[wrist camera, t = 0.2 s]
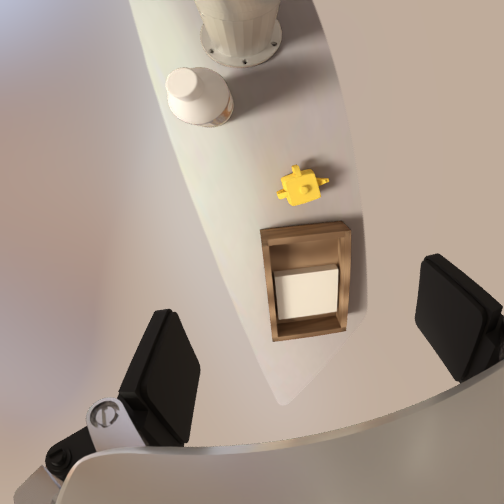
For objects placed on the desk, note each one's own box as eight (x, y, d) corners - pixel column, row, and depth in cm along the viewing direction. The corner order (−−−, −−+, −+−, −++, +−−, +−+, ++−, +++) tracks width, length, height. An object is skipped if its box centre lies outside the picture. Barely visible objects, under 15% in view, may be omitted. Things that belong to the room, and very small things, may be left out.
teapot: (316, 156, 41) (324, 158, 36) (326, 189, 43) (335, 196, 39) (268, 171, 42) (271, 175, 37) (280, 204, 44) (283, 213, 40)
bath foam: (235, 125, 39) (225, 113, 21) (191, 130, 39) (146, 126, 21) (232, 83, 36) (219, 41, 18) (187, 89, 37) (142, 56, 18)
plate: (273, 271, 48) (274, 277, 46) (335, 263, 47) (338, 268, 46) (277, 313, 51) (278, 319, 50) (334, 305, 51) (336, 311, 49)
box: (259, 229, 46) (261, 240, 41) (341, 220, 45) (351, 230, 41) (271, 325, 54) (272, 341, 49) (339, 315, 53) (345, 330, 49)
